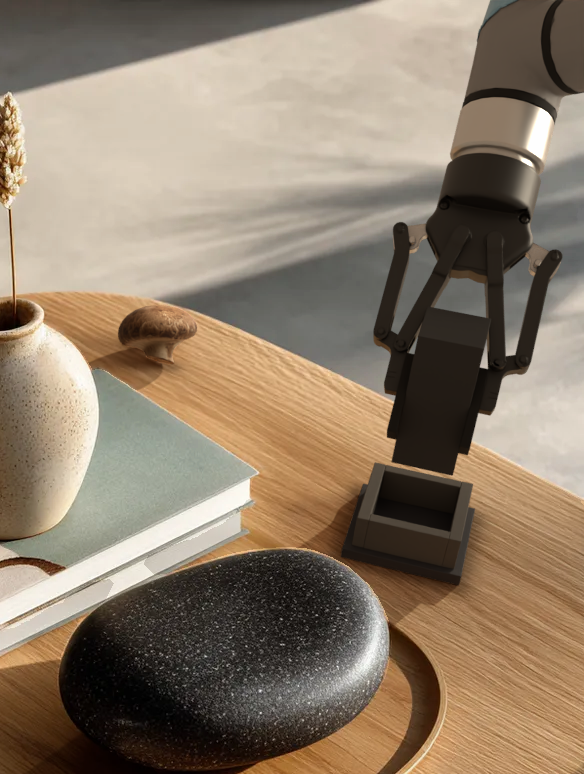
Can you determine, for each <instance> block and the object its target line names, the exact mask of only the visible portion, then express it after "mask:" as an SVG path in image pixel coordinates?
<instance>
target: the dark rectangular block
mask: <svg viewBox="0 0 584 774" xmlns="http://www.w3.org/2000/svg"><path fill="white" fill-rule="evenodd" d="M490 322H491V318H486V316H480V315H476V314H475V315H474V314H469V313H464V312H459V311H454V310H450V309H443V308H437V307H434V308H433V307H427V309H426V312H425V316H424V319H423V322H422V325H421V328H420V332H419V335H418V337H417V339H416V342H415V349H414V353H413V354H414V358H413V362H412V367H411V372H410V376H409V381H408V386H407V391H406V396H405V401H404V405H403V410H402V415H401V420H400V424H399V429H398V434H397V438H396V440H395V443H394V448H393V452H392V457H391V461H390V462H391V463H393V464H398V465H403V466H406V467H411V468H416V469H419V470H425V471H429V472H433V473H437V474H442V475H447V476H451V477H453V476H454V472H455V469H456V465H457V460H458V457H459V453H458V452H459V448H460V444H461V440H462V436H463V432H464V428H465V424H466V420H467V416H468V412H469V408H470V405H471V401H472V397H473V393H474V389H475V385H476V381H477V377H478V372H479V368H480V367H481V364H482V360H483V356H484V352H485V348H486V345H487V335H488V331H489V327H490Z"/></svg>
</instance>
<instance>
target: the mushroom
mask: <svg viewBox="0 0 584 774" xmlns="http://www.w3.org/2000/svg"><path fill="white" fill-rule="evenodd" d="M197 325H198V324H197V322H196V320H195V319H194V317H193V316H192V315H191V314H190V313H189V312H187V311H185V310H184V309H181V308H179V307H176V306H169V305H162V304H161V305H160V304H157V305H145V306H142V307H139V308H137V309H134V310H133V311H131V312H130V313H128V314H127V315H126V316H125V317H124V318H123V319H122V320H121V322H120V324H119V326H118V328H117V329H118V330H117V338H118V341H119V343H120V344H121V345H122V346H126V347H128V348H135V349H138V350H140V351H142V352H143V354H144V355H145V357H146V358H148V359H149V360H153V361H156V362H160V363H162V364H167V365H175V361H174V357H173V355H174V354H173V353H174V350H175V349H176V348H177V347H178V346H179V345H180V344H181V343H183V342H185V341H187V340H189V339H191V338H193V337H195V335H196V333H197V331H198V326H197Z"/></svg>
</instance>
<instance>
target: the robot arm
mask: <svg viewBox="0 0 584 774" xmlns="http://www.w3.org/2000/svg"><path fill="white" fill-rule="evenodd" d="M465 90H466V91H465V95H464V97H463V98H464V99H463V102H462V105H461V109H460V111H459V115H458V119H457V122H456V123H457V124H456V127H455V131H454V136H453V139H452V145H451V148H450V152H449V156H450V162H448V163H447V165H446V169H445V172H444V176H443V181H442V185H441V188H440V193H439V197H438V201H437V204H436V207H435V210H434V212H433V213H432V215H430V216H429V218H428V219H427V220H426V222H425V223H419V224H413V225H408V224H407V223H405V222H403V221H398V222H396V223H395V224H394V225H393V227H392V247H393V256H392V260H391V263H390V267H389V270H388V274H387V278H386V282H385V285H384V289H383V292H382V297H381V300H380V304H379V308H378V311H377V315H376V318H375V323H374V326H373V330H372V333H373V343H374V345H375V346H376V347H380V348H383V349H384V350H386V351H387V352H388V353H389V354H390V357H389V360H388V366H387V369H386V373H385V377H384V381H383V390H384V391H383V392H384V394H386V395H390V396H395V397H394V401H393V404H392V409H391V412H390V416H389V421H388V423H387V424H388V425H387V428H386V438H387V439H392V440H395V441H396V438H397V434H398V429H399V424H400V420H401V415H402V410H403V405H404V401H405V396H406V391H407V386H408V381H409V376H410V372H411V367H412V362H413V358H414V353H410V352H411V350H412V348H413V346H414V344H416V342H417V339H418V335H419V332H420V328H421V325H422V322H423V319H424V316H425V312H426V309H427V307H433V308H435V306H436V305H437V303H438V301H439V299H440V297H441V295H442V294H443V292H444V290H445V289H446V288H447V286H448V284H449V283H450V281H451V279H457V280H460V279H461V280H462V279H468V280H471V281H474V282H476V283H479V284H483V286H484V299H485V301H484V302H485V318H491V322H490V327H489V331H488V335H487V340H486V357H487V358H486V359H487V360H486V361H487V368H486V367H481V366H480V368H479V372H478V377H477V381H476V385H475V389H474V393H473V397H472V401H471V405H470V408H469V412H468V416H467V420H466V424H465V428H464V432H463V436H462V440H461V444H460V448H459V452H458V454H460V455H465V456H468V455H469V453H470V449H471V446H472V441H473V437H474V433H475V430H476V425H477V422H478V421H477V420H478V417H479V414H480V415H485V416H490V417H491V415H492V414H493V413H494V411H495V409H496V407H497V404H498V398H499V394H500V390H501V387H502V382H503V379H504V378H506V377H508V376H511V375H512V376H513V375H519V376H522V375H525V374H526V373H527V372H528V370H529V368H530V366H531V363H532V360H533V355H534V351H535V345H536V342H537V337H538V333H539V330H540V329H539V328H540V324H541V319H542V315H543V310H544V306H545V302H546V297H547V292H548V287H549V284H550V283H551V281H552V279H553V278H554V276H555V275H556V274H557V272H558V270H559V268H560V267H561V263H562V260H563V253H562V251H560V250H559V249H551V250H548V249H546V248H544V247H542V246H541V245H539V244H537V243H535V242H534V235H533V233H532V228H531V225H532V222H533V216H534V212H535V208H536V204H537V200H538V196H539V191H540V188H541V184H542V179H541V176H540V175H542V174H543V173H544V170H545V167H546V162H547V158H548V155H549V151H550V147H551V144H552V143H551V142H552V139H553V138H552V137H553V136H554V135H553V134H554V131H555V126H556V121H557V118H558V114H559V111H560V107H561V102H562V99H563V98H565V97H568V96H572V95H573V96H574V95H578V94H584V0H489V2H488V5H487V8H486V12H485V14H484V17H483V21H482V24H481V25H480V27H479V28H478V32H477V38H476V46H475V51H474V55H473V61H472V66H471V69H470V74H469V77H468V81H467V86H466V89H465ZM424 240H427V243H428V244H429V247H430V249H431V251H432V253H433V255H434V257H435V260H436V263H435V265H434V267H433V269H432V272H431V273H430V276H429V277H428V279H427V281H426V283H425V284H424V286H423V288H422V290H421V292H420V293H419V296H418V297H417V299H416V301H415V302H414V304H413V307H412V308H411V310H410V312H409V314H408V315H407V317H406V319H405V321H404V322H403V324H402V325H401V328H400V329H399V331H398V333H397V332H395V331H393V330H392V329H393V325H394V321H395V318H396V315H397V310H398V306H399V303H400V298H401V296H402V292H403V287H404V284H405V280H406V276H407V272H408V268H409V264H410V255H411V254H415V253H417V251H418V250H419V249H420V244H421V242H422V241H424ZM524 258H527V259H528V261H529V265H528V270H527V271H528V273H529V274H530V275H531V276H532V277H533V278H532V281H531V284H530V288H529V291H528V296H527V301H526V303H525V304H526V305H525V309H524V314H523V318H522V323H521V327H520V331H519V336H518V341H517V345H516V349H515V354H511V355H507V350H506V348H507V346H506V321H505V319H506V317H505V296H504V295H505V293H504V292H505V291H504V286H505V285H504V284H505V283H504V281H505V280H504V279H505V278H504V275H505V274H506V273H508V272H509V271H510V270H511V269H512V268H514V267H515V266H516V265H517V264H518V263H519V262H521V261H522V260H523V259H524Z"/></svg>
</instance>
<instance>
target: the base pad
mask: <svg viewBox="0 0 584 774" xmlns="http://www.w3.org/2000/svg"><path fill="white" fill-rule="evenodd" d="M473 489H474V483H472V482H467V481H461V480H457V479H453V478H448V477H443V476H439V475H434V474H430V473H425V472H420V471H416V470H412V469H407V468H402V467H398V466H395V465H394V466H393V465H389V464H385V463H381V462H374V464H373V467H372V470H371V472H370V475H369V479H368V482H367V483H362V485H361V488H360V491H359V495H358V498H357V501H356V503H355V504H356V505H355V507H354V510H353V513H352V516H351V519H350V522H349V526H348V529H347V532H346V535H345V537H344V541H343V544H342V547H341V552H340V558H343V559H347V560H350V561H355V562H359V563H364V564H367V565H371V566H372V565H373V566H375V567H376V566H377V567H380V568H384V569H388V570H393V571H397V572H401V573H404V574H409V575H414V576H418V577H422V578H427V579H430V580H435V581H439V582H443V583H446V584H451V585H455V586H459V585H460V583H461V580H462V575H463V571H464V566H465V560H466V555H467V551H468V547H469V543H470V536H471V532H472V527H473V521H474V518H475V514H476V513H475V512H476V508H474V507H471V506H470V501H471V497H472V492H473Z"/></svg>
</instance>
